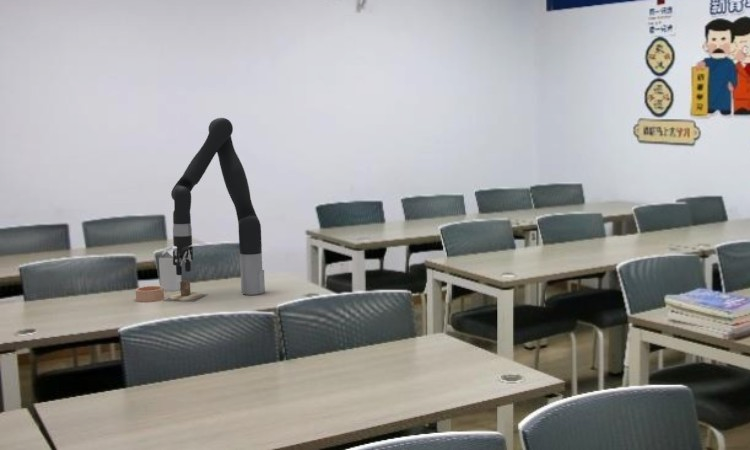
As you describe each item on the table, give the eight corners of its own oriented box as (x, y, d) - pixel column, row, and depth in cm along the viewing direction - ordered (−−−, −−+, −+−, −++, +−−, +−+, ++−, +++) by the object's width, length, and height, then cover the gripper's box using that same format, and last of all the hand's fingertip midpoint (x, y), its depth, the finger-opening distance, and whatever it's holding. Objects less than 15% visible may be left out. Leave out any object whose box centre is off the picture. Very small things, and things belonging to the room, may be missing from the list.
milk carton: (182, 289, 363) (179, 246, 361) (176, 292, 356) (174, 248, 354) (166, 289, 364) (164, 246, 362) (160, 292, 357) (158, 249, 355)
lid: (206, 294, 347) (205, 278, 346) (194, 301, 334) (193, 284, 333) (178, 294, 349) (177, 277, 348) (164, 300, 337) (163, 283, 336)
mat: (208, 295, 347) (208, 294, 347) (194, 303, 334) (194, 301, 333) (177, 295, 350) (177, 293, 350) (162, 302, 336) (162, 300, 336)
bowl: (168, 297, 345) (167, 286, 344) (156, 303, 334) (155, 291, 334) (144, 297, 347) (143, 285, 346) (131, 303, 336) (130, 291, 336)
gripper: (183, 236, 331) (184, 276, 333) (198, 232, 345) (199, 270, 347) (166, 236, 332) (167, 276, 334) (181, 231, 346) (182, 270, 348)
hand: (183, 273), depth 341 cm, fingers open, 8 cm apart
